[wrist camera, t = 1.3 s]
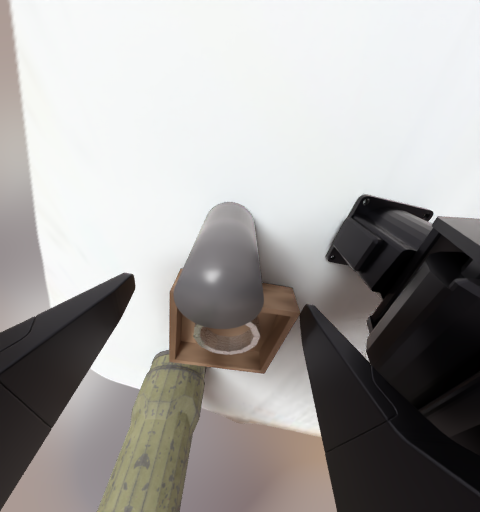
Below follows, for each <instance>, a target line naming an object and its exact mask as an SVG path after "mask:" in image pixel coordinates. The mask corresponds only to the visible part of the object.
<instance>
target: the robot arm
mask: <svg viewBox="0 0 480 512" xmlns="http://www.w3.org/2000/svg"><path fill="white" fill-rule="evenodd" d="M365 199H367V201H366V202H365V203H364V204H363V201H364V200H365ZM424 215H425V216H424ZM423 216H424V217H423ZM432 216H433V211H431V210H428V209H425V208H421V207H417V206H413V205H409V204H404V203H400V202H396V201H392V200H388V199H384V198H379V197H375V196H371V195H366V194H365V195H362V196H360V197H359V199H358V200H357V202H356V204H355V205H354V207H353V209H352V211H351V212H350V214H349V216H348V218H347V219H346V220H345V221H344V223H343V225H342V227H341V229H340V230H339V232H338V234H337V236H336V237H335V239H334V241H333V244H332V246H331V248H330V250H329V251H328V253H327V255H326V258H327V259H328V261H329V262H333V263H338V264H344V265H349V266H350V267H351V268H352V269H353V270H354V271H355V272H357V273H358V275H359V276H360V277H361V278H362V279H363V281H364V282H365V283H366V284H367V285H368V287H369V288H370V289H371V290H372V291H374V292H376V293H377V294H378V295H379V296H380V297H381V299H382V300H383V301H382V302H381V304H380V305H379V306H378V308H377V309H376V311H375V312H374V314H373V315H371V316H370V317H369V318H368V320H367V325H368V329H369V333H370V335H369V337H368V338H367V346H366V352H367V355H368V358H369V361H370V363H369V362H368V361H367V360H366V359H365V357H364V356H363V355H362V354H361V353H360V352H359V351H358V350H357V349H356V348H355V347H354V346H353V345H352V344H351V343H350V342H349V341H348V340H347V339H346V338H345V337H344V336H343V335H342V334H341V333H340V332H339V331H338V329H337V328H336V327H335V326H334V325H333V324H332V323H331V322H330V321H329V320H328V319H327V318H326V317H325V316H324V315H323V314H322V313H321V312H320V311H319V310H318V309H317V308H316V307H315V306H314V305H310V304H306V305H305V306H304V308H303V310H302V311H301V313H300V328H301V337H302V346H303V351H304V356H305V360H306V365H307V370H308V375H309V379H310V384H311V389H312V394H313V398H314V403H315V408H316V413H317V417H318V422H319V427H320V432H321V436H322V441H323V445H324V450H325V456H326V460H327V465H328V470H329V475H330V479H331V484H332V489H333V494H334V498H335V503H336V508H337V512H480V219H473V218H457V217H441V216H438V217H437V218H436V220H435V221H434V223H433V224H432V223H429V222H428V221H429V220H430V219H431V218H432ZM331 256H333V257H332V258H331ZM134 290H135V280H134V275H133V274H130V273H122V274H120V275H118V276H116V277H114V278H112V279H110V280H108V281H106V282H104V283H102V284H100V285H98V286H96V287H94V288H92V289H90V290H88V291H85V292H83V293H81V294H79V295H77V296H75V297H73V298H71V299H69V300H67V301H65V302H63V303H61V304H59V305H57V306H55V307H53V308H51V309H49V310H47V311H45V312H42V313H41V314H39V315H37V316H36V317H32V318H30V319H28V320H26V321H24V322H22V323H20V324H18V325H16V326H14V327H11V328H9V329H7V330H5V331H3V332H1V333H0V511H1V509H2V507H3V506H4V504H5V502H6V501H7V499H8V498H9V496H10V495H11V493H12V491H13V490H14V488H15V486H16V485H17V483H18V482H19V480H20V479H21V477H22V475H23V474H24V472H25V471H26V469H27V467H28V466H29V464H30V463H31V461H32V460H33V458H34V456H35V455H36V453H37V452H38V450H39V448H40V447H41V445H42V444H43V442H44V440H45V439H46V437H47V436H48V434H49V432H50V431H51V428H52V427H53V426H54V424H55V423H56V421H57V420H58V418H59V416H60V414H61V413H62V411H63V410H64V408H65V407H66V405H67V404H68V402H69V400H70V399H71V397H72V396H73V394H74V392H75V391H76V389H77V388H78V386H79V385H80V383H81V381H82V379H83V378H84V377H85V375H86V373H87V372H88V370H89V369H90V367H91V365H92V364H93V362H94V361H95V359H96V357H97V356H98V354H99V353H100V351H101V350H102V348H103V346H104V345H105V343H106V342H107V340H108V338H109V337H110V335H111V334H112V332H113V330H114V329H115V327H116V326H117V324H118V322H119V321H120V319H121V317H122V315H123V313H124V311H125V309H126V307H127V305H128V303H129V301H130V299H131V297H132V295H133V293H134ZM370 364H371V365H370Z"/></svg>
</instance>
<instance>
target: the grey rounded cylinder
mask: <svg viewBox="0 0 480 512" xmlns="http://www.w3.org/2000/svg"><path fill="white" fill-rule="evenodd" d="M174 301H175V304H176V306H177V308H178V309H179V311H180V312H181V313H182V314H183V315H184V316H185V317H186V318H188V319H189V320H191V321H192V322H194V323H196V324H198V325H201V326H204V327H208V328H213V329H231V328H236V327H240V326H243V325H245V324H247V323H249V322H251V321H252V320H253V319H255V318H256V317H257V316H258V315H259V313H260V312H261V310H262V308H263V304H264V294H263V286H262V278H261V271H260V263H259V255H258V247H257V239H256V231H255V223H254V219H253V216H252V215H251V213H250V212H249V211H248V210H247V209H246V208H245V207H244V206H242V205H240V204H238V203H233V202H224V203H221V204H218V205H216V206H215V207H213V208H212V209H211V210H210V211H209V213H208V215H207V217H206V219H205V221H204V223H203V225H202V228H201V230H200V232H199V234H198V237H197V239H196V241H195V243H194V245H193V248H192V250H191V252H190V254H189V257H188V259H187V261H186V263H185V265H184V268H183V270H182V272H181V274H180V276H179V279H178V281H177V283H176V285H175V288H174Z"/></svg>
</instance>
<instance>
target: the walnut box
mask: <svg viewBox="0 0 480 512" xmlns="http://www.w3.org/2000/svg"><path fill="white" fill-rule="evenodd" d="M182 270H183V269H180V271H179V273H178V276H177V278H176V280H175V282H174V284H173V286H172V288H171V291H170V332H169V362H173V363H181V364H189V365H198V366H206V367H214V368H222V369H230V370H239V371H247V372H255V373H263V374H264V373H265V372H266V370H267V368H268V367H269V365H270V363H271V362H272V360H273V358H274V357H275V355H276V353H277V351H278V350H279V348H280V346H281V345H282V343H283V341H284V340H285V338H286V336H287V335H288V333H289V331H290V330H291V328H292V326H293V325H294V323H295V321H296V320H297V318H298V316H299V315H300V310H299V307H298V304H297V301H296V298H295V295H294V292H293V288H290V287H284V286H278V285H273V284H267V283H262V286H263V294H264V304H263V308H262V310H261V312H260V313H259V315H258V316H257V317H256V318H255V319H253V320H252V321H251V322H249V323H247V324H245V325H243V326H240V327H236V328H231V329H213V328H208V327H204V326H201V325H198V324H196V323H194V322H192V321H191V320H189V319H188V318H186V317H185V316H184V315H183V314H182V313H181V312H180V311H179V309H178V308H177V306H176V304H175V301H174V288H175V285H176V283H177V281H178V279H179V276H180V274H181V272H182Z"/></svg>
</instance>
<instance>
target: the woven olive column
mask: <svg viewBox="0 0 480 512" xmlns="http://www.w3.org/2000/svg"><path fill="white" fill-rule="evenodd" d="M205 372H206V366H198V365H189V364H181V363H173V362H169V350H167V351H163V352H160V353H158V354H157V355H156V356H155V357H154V359H153V362H152V366H151V368H150V371H149V372H148V373H147V375H146V377H145V379H144V381H143V384H142V386H141V389H140V391H139V394H138V396H137V399H136V401H135V404H134V406H133V409H132V414H131V424H130V428H129V431H128V433H127V436H126V439H125V441H124V443H123V446H122V449H121V451H120V454H119V456H118V459H117V462H116V464H115V467H114V469H113V472H112V474H111V477H110V480H109V482H108V485H107V487H106V490H105V492H104V495H103V498H102V500H101V503H100V505H99V508H98V511H97V512H180V506H181V499H182V494H183V488H184V482H185V476H186V470H187V464H188V458H189V452H190V447H191V440H192V435H193V432H194V430H195V427H196V425H197V422H198V420H199V417H200V410H201V404H202V398H203V391H204V385H205V382H204V375H205Z"/></svg>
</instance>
